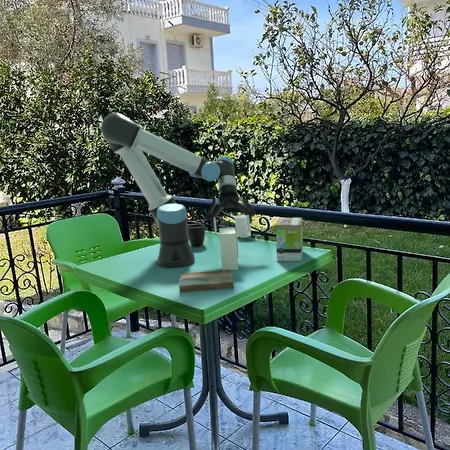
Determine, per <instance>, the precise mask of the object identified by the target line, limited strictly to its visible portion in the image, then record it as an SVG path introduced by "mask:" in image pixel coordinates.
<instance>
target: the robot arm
mask: <svg viewBox="0 0 450 450" xmlns="http://www.w3.org/2000/svg"><path fill="white" fill-rule="evenodd" d="M100 125H101V127H100V129H101V130H100V131H101V134H102V135H103V137H104V138H105V140H106V142H107V143H108V145H109V146H110V148H111V150H112V152H113V153H114V154H118V155H119V156H120V158H121V159H122V161H123V162H124V165H126V168H127V169H128V171H129V173H130V174H131V176H132V177H133V179H134V181H135V183H136V184H137V186H138V187H139V189H140V190H141V192H142V195H144V198H145V200H146V201H147V203H148V211H149V212H150V214H151V215H150V216H152V218H153V220H154V221H155V223H156V225H157V228H158V236H159V242H160V244H159V246H160V247H159V252H158V256H157V265H158V266H159V267H162V268H180V267H185V266H186V267H187V266H189V265H192V264H193V263H194V262H195V261H196V260H195V259H196V257H195V253H194V252H193V249H192V246H191V244H190V241H189V238H188V213H187V208H186V207H185V206H184V204H179V203H177V202H176V201H175V199H174V197H173V195H171V194H168V193H167V192H166V190H165V189H164V186H163V185H162V183H161V181H160V180H159V178H158V177H157V174H156V173H155V171H154V169H153V168H152V165H150V163H149V161H148V159H147V157H146V156H145V154H144V153H146V154H149V155H150V156H152V157H155V158H157V159H160V160H162V161H165V162H166V163H169V164H171V165H173V166H175V167H177V168H179V169H182V170H184V171H187V172H188V173H189V176H190V177H193V178H196V179H198V178H201V179H203V180H205V181H207V182H213V181H215V180H217V184H218V193H219V198H216V197H215V196H214V197H212V202H211V204H210V206H209V208H208V210H207V212H206V214H205V218H206V221H207V220H208V221H209V220H210V225H211V228H212V227H213V228H214V235H216V236H217V234H218V232H217V222H216V219H217V216H218V215H219V214H220V213H221V212H222V211H223V210H224V209H230V208H231V209H233V208H235V209H237V210H239V211H240V212H241V213H243V215H246V216H247V225H248V232H250V230H251V231H252V226H251V227H250V224H251V225H252V224H253V217H255V216H256V210H255V209H254V207H253V206H252V205H251V204H250V202H249V201H248V200H247V198H246V196H245V195H242V196H240V197H239V195H238V189H237V182H236V181H237V180H236V174H235V165H234V161H233V159H232V158H231V157H230V156H227V155H224V156H220V157H217V159H216V161H215V160H209V159H207V158H204V157H202V156H200V155H198V154H196V153H193V152H191V151H190V150H188V149H185V148H183V147H181V146H179V145H178V144H175V143H173V142H171V141H169V140H166V139H164V138H162V137H160V136H158V135H155V134H154V133H151V132H150V131H147V130H145V129H144V128H143V126H142V125H141V124H139V123H136V122H135V121H133V120H131V119H130V118H128V117H127V116H126V115H124V114H122V113H119V112H114V113H110V114H108V115H107V116H105V117H104V118H103V120H102V122H101V124H100ZM239 201H240V202H241V203H242V204H243V205H244V206H243V205H242V204H241V203H240V202H239ZM218 203H219V205H218V207H217V208H216V205H217V204H218ZM215 208H216V209H215ZM214 209H215V210H214Z"/></svg>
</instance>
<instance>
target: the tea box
mask: <svg viewBox="0 0 450 450" xmlns="http://www.w3.org/2000/svg"><path fill="white" fill-rule="evenodd" d="M275 237H276V238H275V239H276V243H275V244H276V261H277V262H301V261H302V258H303V252H304V238H303V237H304V236H303V217H279V218H278V219H277V222H276V224H275Z"/></svg>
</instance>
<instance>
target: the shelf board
mask: <svg viewBox="0 0 450 450" xmlns="http://www.w3.org/2000/svg"><path fill="white" fill-rule="evenodd" d="M178 286H179V287H178V288H179V289H178V290H179V292H180V293H185V292H196V291H197V292H198V291H209V290H210V291H211V290H223V289H234V275H233V273H232V270H223V269H220V270H219V269H218V270H207V271H206V270H205V271H196V272H183V273H181V275H180V278H178Z"/></svg>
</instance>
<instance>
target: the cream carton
mask: <svg viewBox="0 0 450 450" xmlns="http://www.w3.org/2000/svg"><path fill="white" fill-rule="evenodd" d="M218 230H219V245H220V246H219V247H220V258H221V267H222V269H221V270H231V271H233V270H239V245H238V237H237V231H236V227H235V226H234V227H232V226H231V227H219V229H218Z"/></svg>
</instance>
